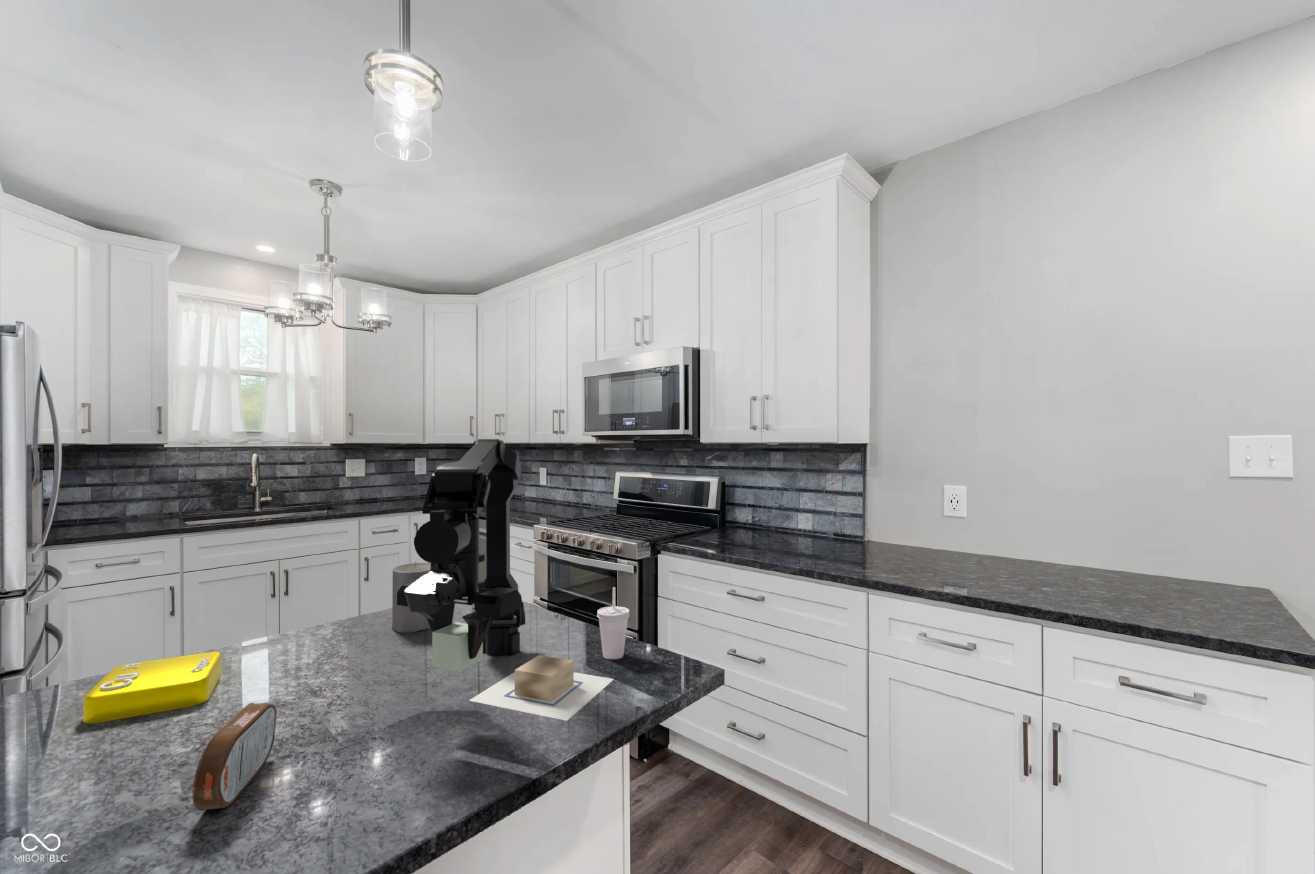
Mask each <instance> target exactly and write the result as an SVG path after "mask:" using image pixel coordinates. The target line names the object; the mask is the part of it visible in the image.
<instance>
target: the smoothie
mask: <svg viewBox="0 0 1315 874" xmlns="http://www.w3.org/2000/svg"><path fill="white" fill-rule="evenodd" d="M630 615H631V614H630V609H629V608H627V607H624V606H618V605H616V587H615V586H613V587H612V606H611V605H610V606H604V607H600V608H599V609H597V614H596V617H597V618H598V623H599V632H600V641H601V649H602V650H601V651H602V657H603V658H604V659H606V660H620V659H621V658H623V657H624V653H625V645H626V636H627V631H628V630H627V629H628V620H629V617H630Z"/></svg>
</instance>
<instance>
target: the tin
mask: <svg viewBox="0 0 1315 874" xmlns="http://www.w3.org/2000/svg"><path fill="white" fill-rule="evenodd" d="M277 712H278V710H277V707H276V705H274V704H273V703H265V702H264V703H254V702H250V703H248V704H246V705H245V706H244V707H242V708H241V710H239V711H238V712H237V713H236V714H235V715H234V716H233V717H232V718H230V719H229V720H228V721H227V722H226V723H225V724H224V725H222V727H220V728H219V729H218V730H216V732H215V733H214V734H212V736H211V738H210V739H209V740H208V742H207V744H206V746H205V748H204V749H203V752H202V753H201V756H200V759H199V761H198V764H197V767H196V771H195V775H194V779H193V785H192V802H193V807H194V808H195V809H196V810H197V811H199V812H200V811H206V810H216V809H224V808H227V807H229V806H230V805H232V804H233V803H234V802H235V801H236V799H238V797H239V796H240V795H241V794H242V792H243V791H244V790H245V789H246V788H247V786H248V785H249V784H250V783H251V782H252V780H253V779H254V778H255V777H256V776H257V775H258V773H259V772H260V771H261V770H262V769H263V767H264V766H265V764H266V762H267V761H268V759H269V757H270V754H271V752H272V748H273V746H274V742H275V732H276V721H277V714H278V713H277Z"/></svg>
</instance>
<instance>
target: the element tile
mask: <svg viewBox="0 0 1315 874" xmlns="http://www.w3.org/2000/svg"><path fill="white" fill-rule="evenodd" d="M222 657H223V655H222V653H221V652H219V651H210V652H202V653H195V654H190V655H189V654H188V655H181V656H175V657H169V658H161V659H155V660H146V661H139V662H132V663H125V664H120V665H118V666H115V667H114V668H112V669H110V670H109V672H108V673H107V674H105V676H103V678H101V679H100V680H99V681H98V682H97V683H96V684H95V685H94V686H93V687H92V688H91V689H90V690H89V691H88V692H86V693H85V695H83V701H82V703H83V707H82V708H83V710H82V711H83V712H82V713H83V714H82V722H83V723H84V724H87V725H88V724H99V723H104V722H109V721H117V720H122V719H127V718H133V717H138V716H139V717H140V716H143V715H149V714H155V713H162V712H166V711H167V712H168V711H173V710H179V709H185V708H189V707H194V706H196V705H197V706H198V705H201V704H203V703H206V701H208V700H209V699H210V697H211V695H212V693H213V691H214V690H215V688H216V686H217V684H218V682H219V680H220V678H221V677H222V663H223V662H222V659H223V658H222Z"/></svg>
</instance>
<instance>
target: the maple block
mask: <svg viewBox="0 0 1315 874" xmlns="http://www.w3.org/2000/svg"><path fill="white" fill-rule="evenodd" d="M574 665H575V662H574V660H572V659H566V658H558V657H553V656H546V655H540V654H538V655H537V656H534V658H532V659H530V660H528V661H527V662H525V663H523V664H522V665H520V666H519V667H517V668H515V669H514V672H515V695H520V696H525V697H530V698H535V699H540V700H546V701H551V702H552V701H553V700H554V699H555V698H557V697H558V696H559V695H561V694H562V693H563V692H564V691H566V690H567V689H568V688H569V687H571V686H572V685H573V684H574V672H575V670H574V669H575V668H574Z"/></svg>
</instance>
